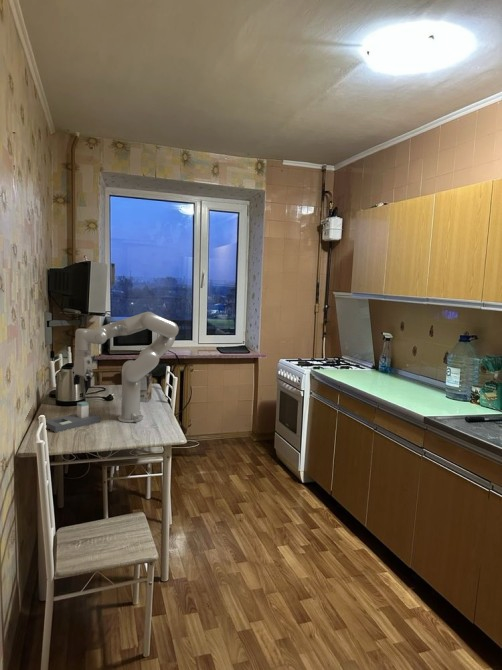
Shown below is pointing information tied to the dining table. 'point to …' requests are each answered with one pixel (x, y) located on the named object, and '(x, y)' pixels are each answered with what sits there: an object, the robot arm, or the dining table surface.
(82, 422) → the charcoal socket panel
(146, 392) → the coffee box
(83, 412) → the white plug block
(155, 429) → the dining table surface
